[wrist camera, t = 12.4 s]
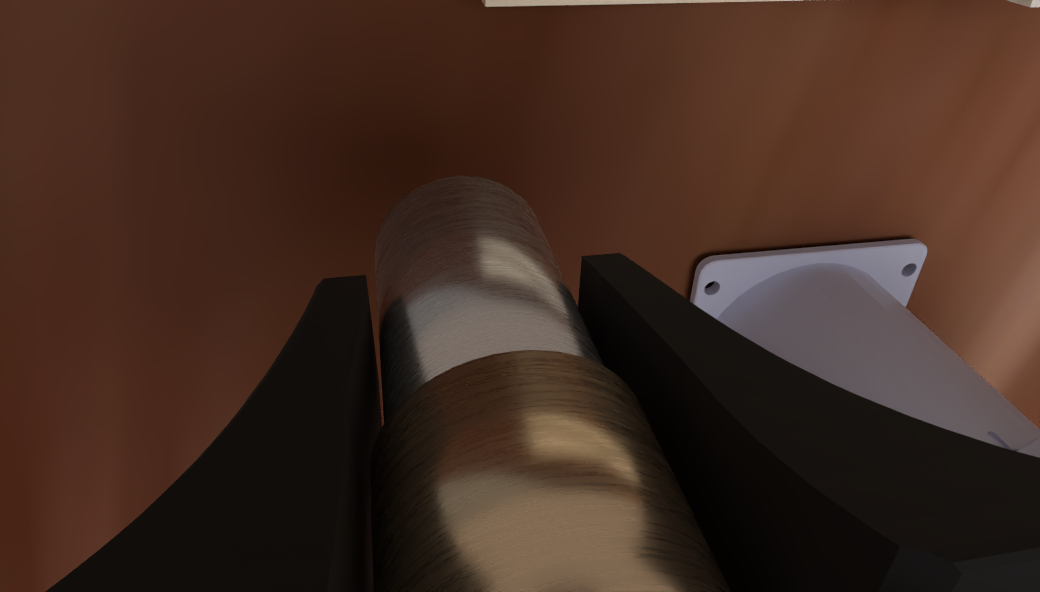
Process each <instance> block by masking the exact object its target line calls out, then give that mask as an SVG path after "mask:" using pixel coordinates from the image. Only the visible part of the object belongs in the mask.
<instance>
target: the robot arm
mask: <svg viewBox="0 0 1040 592" xmlns="http://www.w3.org/2000/svg"><path fill="white" fill-rule="evenodd" d="M926 255H927V247H926V246H925V245H924V244H923V243H921V242H920V241H919V240H917V239H903V240H891V241H879V242H867V243H855V244H844V245H832V246H820V247H808V248H796V249H784V250H773V251H761V252H749V253H737V254H725V255H713V256H709V257H707V258H705V259H703V260H702V261H701V262H700V263H699V264H698V266H697V268H696V271H695V276H694V281H693V287H692V292H691V297H690V301H689V300H687V299H686V298H684V297H683V296H681V295H680V294H679V293H677V292H676V291H674V290H673V289H671V288H670V287H669V286H667V285H666V284H664V283H663V282H662V281H660V280H659V279H657V278H656V277H654V276H653V275H652V274H650V273H649V272H647V271H646V270H645V269H643V268H642V267H640V266H639V265H637V264H636V263H634V262H633V261H631V260H630V259H628V258H627V257H625V256H624V255H622V254H620V253H615V254H604V255H592V256H582V263H581V276H580V288H579V301H578V310H579V312H580V314H581V316H582V318H583V320H584V323H585V325H586V327H587V329H588V331H589V334H590V336H591V338H592V340H593V342H594V345H595V347H596V349H597V351H598V353H599V356H600V358H601V360H602V362H603V364H604V367H606V368H607V369H609V370H610V371H612V372H614V373H615V374H616V375H617V376H619V377H620V378H621V379H622V380H623V381H624V382H625V383H626V384H627V385H628V386H629V388H630V389H631V390H632V391H633V393H634V394H635V396H636V398H637V400H638V402H639V404H640V405H641V407H642V410H643V412H644V414H645V416H646V418H647V420H648V422H649V424H650V426H651V428H652V430H653V432H654V434H655V436H656V438H657V440H658V442H659V444H660V447H661V449H662V451H663V453H664V455H665V457H666V459H667V461H668V463H669V465H670V467H671V469H672V471H673V473H674V475H675V477H676V479H677V482H678V484H679V486H680V488H681V490H682V492H683V494H684V496H685V498H686V500H687V502H688V504H689V506H690V508H691V510H692V512H693V514H694V516H695V519H696V521H697V523H698V525H699V527H700V529H701V531H702V533H703V535H704V537H705V539H706V541H707V543H708V545H709V547H710V549H711V551H712V553H713V556H714V558H715V560H716V562H717V564H718V566H719V568H720V570H721V572H722V574H723V576H724V578H725V580H726V582H727V584H728V586H729V588H730V590H731V592H1040V429H1039V428H1038V427H1037V426H1035V425H1034V424H1033V423H1032V422H1031V421H1030V420H1029V419H1028V418H1027V417H1026V416H1024V415H1023V414H1022V413H1021V412H1020V411H1019V410H1018V409H1017V408H1016V407H1014V406H1013V405H1012V404H1011V403H1010V402H1009V401H1008V400H1007V399H1006V398H1005V397H1003V396H1002V395H1001V394H1000V393H999V392H998V391H997V390H996V389H995V388H994V387H992V386H991V385H990V384H989V383H988V382H987V381H986V380H985V379H984V378H983V377H981V376H980V375H979V374H978V373H977V372H976V371H975V370H974V369H973V368H971V367H970V366H969V365H968V364H967V363H966V362H965V361H964V360H963V359H962V358H960V357H959V356H958V355H957V354H956V353H955V352H954V351H953V350H952V349H951V348H949V347H948V346H947V345H946V344H945V343H944V342H943V341H942V340H941V339H940V338H938V337H937V336H936V335H935V334H934V333H933V332H932V331H931V330H930V329H928V328H927V327H926V326H925V325H924V324H923V323H922V322H921V321H920V320H919V319H917V318H916V317H915V316H914V315H913V314H912V313H911V312H910V311H909V310H908V309H906V306H907V303H908V301H909V298H910V295H911V293H912V290H913V288H914V285H915V283H916V280H917V278H918V275H919V273H920V270H921V268H922V265H923V263H924V260H925V258H926ZM906 265H907V267H905V266H906ZM904 267H905V268H904ZM903 268H904V269H903ZM713 281H715V282H714V284H713V285H712V286H711V287H709V288H706V289H705V286H706V285H707V284H708V283H710V282H713ZM381 428H382V422H381V407H380V392H379V379H378V371H377V363H376V354H375V346H374V338H373V330H372V321H371V313H370V305H369V297H368V288H367V280H366V275H360V276H349V277H337V278H326V279H323V280H322V281H321V282H320V283H319V284H318V285H317V287H316V289H315V291H314V294H313V296H312V298H311V300H310V302H309V304H308V306H307V308H306V310H305V312H304V314H303V315H302V317H301V319H300V321H299V322H298V324H297V326H296V328H295V330H294V331H293V333H292V335H291V336H290V338H289V339H288V341H287V343H286V344H285V346H284V347H283V349H282V350H281V352H280V354H279V355H278V357H277V358H276V360H275V362H274V363H273V365H272V366H271V368H270V369H269V371H268V372H267V373H266V375H265V376H264V378H263V379H262V380H261V382H260V383H259V384H258V386H257V387H256V388H255V390H254V391H253V392H252V394H251V395H250V397H249V398H248V399H247V401H246V402H245V403H244V405H243V406H242V407H241V409H240V410H239V411H238V413H237V414H236V415H235V416H234V417H233V419H232V420H231V421H230V422H229V424H228V425H227V426H226V427H225V428H224V430H223V431H222V432H221V433H220V434H219V435H218V437H217V438H216V439H215V440H214V441H213V442H212V443H211V444H210V446H209V447H208V448H207V449H206V450H205V451H204V452H203V453H202V454H201V456H200V457H199V458H198V459H197V460H196V461H195V462H194V463H193V464H192V465H191V466H190V467H189V468H188V469H187V470H186V471H185V472H184V473H183V474H182V475H181V476H180V477H179V478H178V479H177V480H176V481H175V482H174V483H173V484H172V485H171V486H170V487H169V488H168V489H167V490H166V491H165V492H164V493H163V494H162V495H161V496H160V497H159V498H158V499H157V500H156V501H155V502H154V503H152V504H151V505H150V506H149V507H148V508H147V509H146V510H145V511H144V512H143V513H142V514H141V515H140V516H139V517H137V518H136V519H135V520H134V521H133V522H132V523H131V524H129V525H128V526H127V527H126V528H125V529H123V530H122V531H121V532H120V533H119V534H118V535H116V536H115V537H114V538H113V539H112V540H110V541H109V542H108V543H107V544H106V545H105V546H103V547H102V548H101V549H100V550H98V551H97V552H96V553H95V554H93V555H92V556H91V557H90V558H88V559H87V560H86V561H85V562H83V563H82V564H81V565H79V566H78V567H77V568H76V569H74V570H73V571H72V572H71V573H69V574H68V575H67V576H66V577H64V578H63V579H62V580H60V581H59V582H58V583H56V584H55V585H54V586H52V587H51V588H50V589H48V590H47V591H46V592H374V587H373V556H372V525H371V495H370V460H371V453H372V450H373V447H374V444H375V441H376V438H377V436H378V434H379V432H380V430H381Z"/></svg>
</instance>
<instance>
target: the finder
mask: <svg viewBox="0 0 1040 592" xmlns="http://www.w3.org/2000/svg"><path fill="white" fill-rule="evenodd" d="M1007 1H1011V2H1014V3H1017V4H1021V5H1024V6H1027V7H1040V0H1007Z"/></svg>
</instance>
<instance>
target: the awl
mask: <svg viewBox="0 0 1040 592" xmlns="http://www.w3.org/2000/svg"><path fill="white" fill-rule="evenodd" d="M374 253H375V273H376V291H377V308H378V325H379V342H380V359H381V376H382V394H383V411H384V425H383V426H382V428H381V430H380V432H379V434H378V436H377V438H376V441H375V444H374V447H373V450H372V453H371V460H370V495H371V525H372V556H373V587H374V592H731V590H730V588H729V586H728V584H727V582H726V580H725V578H724V576H723V574H722V572H721V570H720V568H719V566H718V564H717V562H716V560H715V558H714V556H713V553H712V551H711V549H710V547H709V545H708V543H707V541H706V539H705V537H704V535H703V533H702V531H701V529H700V527H699V525H698V523H697V521H696V519H695V516H694V514H693V512H692V510H691V508H690V506H689V504H688V502H687V500H686V498H685V496H684V494H683V492H682V490H681V488H680V486H679V484H678V482H677V479H676V477H675V475H674V473H673V471H672V469H671V467H670V465H669V463H668V461H667V459H666V457H665V455H664V453H663V451H662V449H661V447H660V444H659V442H658V440H657V438H656V436H655V434H654V432H653V430H652V428H651V426H650V424H649V422H648V420H647V418H646V416H645V414H644V412H643V410H642V407H641V405H640V404H639V402H638V400H637V398H636V396H635V394H634V393H633V391H632V390H631V389H630V388H629V386H628V385H627V384H626V383H625V382H624V381H623V380H622V379H621V378H620V377H619V376H617V375H616V374H615V373H614V372H612V371H610V370H609V369H607V368H606V367H604V364H603V362H602V360H601V358H600V356H599V353H598V351H597V349H596V347H595V345H594V342H593V340H592V338H591V336H590V334H589V331H588V329H587V327H586V325H585V323H584V320H583V318H582V316H581V314H580V312H579V310H578V307H577V305H576V303H575V301H574V299H573V296H572V294H571V292H570V290H569V288H568V285H567V283H566V281H565V279H564V277H563V274H562V272H561V270H560V268H559V266H558V263H557V261H556V259H555V257H554V255H553V252H552V250H551V248H550V246H549V244H548V242H547V239H546V237H545V235H544V233H543V231H542V228H541V226H540V224H539V222H538V220H537V218H536V216H535V214H534V212H533V210H532V209H531V207H530V206H529V205H528V203H527V202H526V201H525V200H524V199H523V198H522V197H521V196H520V195H519V194H517V193H516V192H515V191H513V190H512V189H511V188H509V187H507V186H505V185H503V184H501V183H499V182H496V181H494V180H491V179H487V178H483V177H476V176H452V177H445V178H441V179H437V180H433V181H431V182H428V183H426V184H423V185H421V186H419V187H417V188H416V189H414V190H412V191H411V192H409V193H408V194H406V195H405V196H404V197H403V198H401V199H400V200H399V201H398V202H397V203H396V204H395V205H394V206H393V207H392V209H391V210H390V211H389V212H388V214H387V215H386V217H385V219H384V220H383V222H382V224H381V226H380V228H379V231H378V234H377V238H376V242H375V250H374Z"/></svg>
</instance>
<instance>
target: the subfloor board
mask: <svg viewBox="0 0 1040 592" xmlns="http://www.w3.org/2000/svg"><path fill="white" fill-rule="evenodd" d="M481 1H482V2H483V4H484V5H485V7H498V6H549V5H599V4H650V3H700V2H751V1H801V0H481Z"/></svg>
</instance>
